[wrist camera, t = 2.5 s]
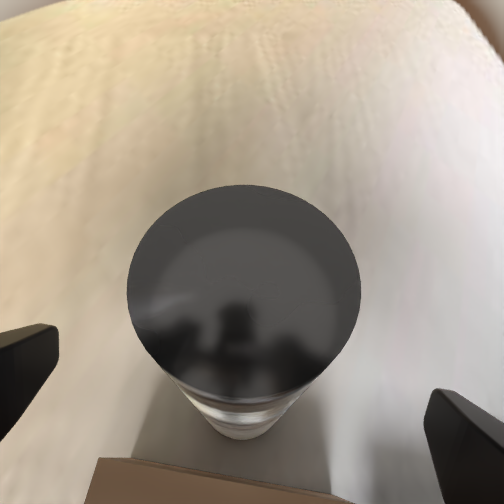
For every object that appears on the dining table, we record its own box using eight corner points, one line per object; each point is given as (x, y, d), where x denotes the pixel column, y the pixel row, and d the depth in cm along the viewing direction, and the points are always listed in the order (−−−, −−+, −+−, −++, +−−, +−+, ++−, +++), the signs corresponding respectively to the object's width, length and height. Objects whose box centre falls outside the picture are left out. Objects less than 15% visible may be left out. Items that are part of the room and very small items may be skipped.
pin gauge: (300, 397, 17) (408, 286, 6) (237, 460, 16) (229, 463, 5) (246, 336, 19) (254, 155, 8) (184, 389, 17) (83, 262, 6)
